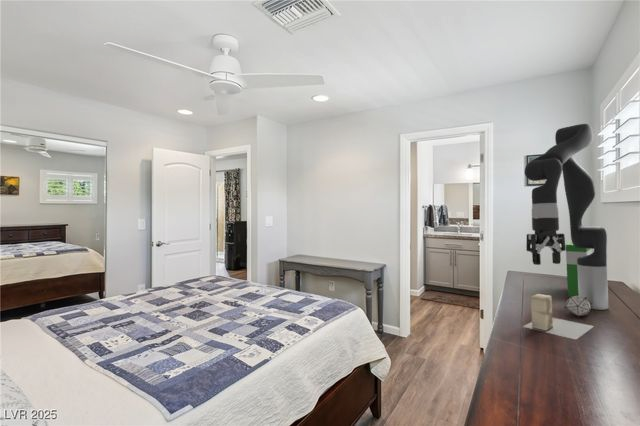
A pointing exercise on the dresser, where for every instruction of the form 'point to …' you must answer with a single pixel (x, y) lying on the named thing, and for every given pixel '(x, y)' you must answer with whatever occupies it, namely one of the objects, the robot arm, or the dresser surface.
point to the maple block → (541, 312)
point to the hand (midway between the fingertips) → (546, 264)
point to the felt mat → (566, 328)
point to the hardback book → (574, 266)
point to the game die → (578, 305)
